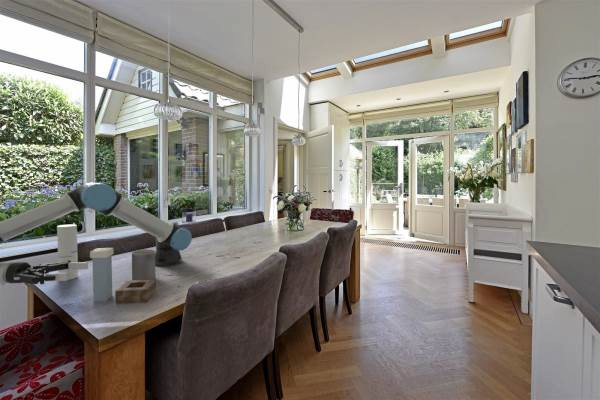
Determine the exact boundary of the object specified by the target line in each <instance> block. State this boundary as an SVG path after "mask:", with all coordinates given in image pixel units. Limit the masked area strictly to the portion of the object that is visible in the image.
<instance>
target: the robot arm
mask: <svg viewBox="0 0 600 400" xmlns="http://www.w3.org/2000/svg"><path fill="white" fill-rule="evenodd" d="M85 209H91V210H92V211H95V212H97V213H99V214H101V215H103V216H105V217H107V216H113V217H115V218H118V219H119V220H121V221H123V222H125V223H127V224H129V225H132V226H133V227H136V228H138V229H140V230H142V231H143V232H146V233H147V234H150V235H151V236H153V237H155V267H171V266H175V265H178V264H181V263H182V262H183V261H182V260H183V258H182V255H181V251H184V250H185V249H187V248H188V247H189V246H191V243H192V238H193V237H192V233H191V231H190V230H188V229H187V228H185V227H183V226H179V223H178V222H176V221H175V222H173V221H168V222H166V221H165V220H163V219H160V217H157V216H155V215H153V214H151V213H150V212H148V211H146V210H144V209H143V208H140V206H136V205H135V204H133V203H132V202H130V201H128V200H126V199H124V195H123V194H122V193H121V192H118V191H117V190H115V189H113V187H112V186H110V185H108V184H106V183H103V182H92V181H91V182H87V183H84V184H81V185H80V186H78V187H76V188H74V189H73V190H70V191H67V192H65V193H64V195H63V196H61V197H58V198H56V199H54V200H52V201H48V202H47V203H43V204H42V205H39V206H37V207H35V208H32V209H29V210H27V211H25V212H22V213H19V214H16V215H14V216H11V217H9V218H7V219H4V220H2V221H0V244H2V243H4V242H7V240H10V239H13V238H15V237H17V236H19V235H22V234H25V233H26V232H28V231H31V230H33V229H35V228H37V227H40V226H43V225H44V224H47V223H50V222H52V221H54V220H56V219H58V218H60V217H63V216H65V215H68V214H71V213H72V212H80V211H83V210H85ZM65 269H69V270H75V269H78V270H88V269H89V262H88V261H83V262H80V261H78V262H71V261H70V260H68V261H65V262H58V261H57V262H49V263H39V264H38V265H30V263H29V262H26V261H19V262H11V261H10V262H7V261H6V262H0V284H1V286H5V285H6V284H22V283H25V284H31V285H38V284H39V285H44V284H45V283H46V282H67V281H69V280H68V273H59V270H65Z"/></svg>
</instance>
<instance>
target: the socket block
mask: <svg viewBox="0 0 600 400" xmlns="http://www.w3.org/2000/svg"><path fill="white" fill-rule="evenodd" d="M156 292H157V279H155V280H132V279H130V280H126V281H125V282H124V283H122V284H121V285H120V286H119V287H118V288H116V289H115V292H114V294H115V295H114V298H115V305H118V304H119V305H120V304H138V303H142V304H143V303H148V302H149V300H151V298H153V296H154V295H155V293H156Z"/></svg>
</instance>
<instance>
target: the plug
mask: <svg viewBox="0 0 600 400" xmlns="http://www.w3.org/2000/svg"><path fill="white" fill-rule="evenodd" d="M113 255H114V247H102V248H101V247H97V248H95V249H93V250H90V251H89V258H90V259H91V261H92V296H93V298H92V299H93V301H92V302H94V303H96V302H108V300H110V299H111V298H112V297H113V262H112V261H113V260H112V259H113V257H112V256H113Z"/></svg>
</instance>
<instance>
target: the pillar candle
mask: <svg viewBox="0 0 600 400" xmlns="http://www.w3.org/2000/svg"><path fill="white" fill-rule="evenodd" d="M155 252H156V250H154V249H140V250H135V251H133V252H131V280H156V266H155Z"/></svg>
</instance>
